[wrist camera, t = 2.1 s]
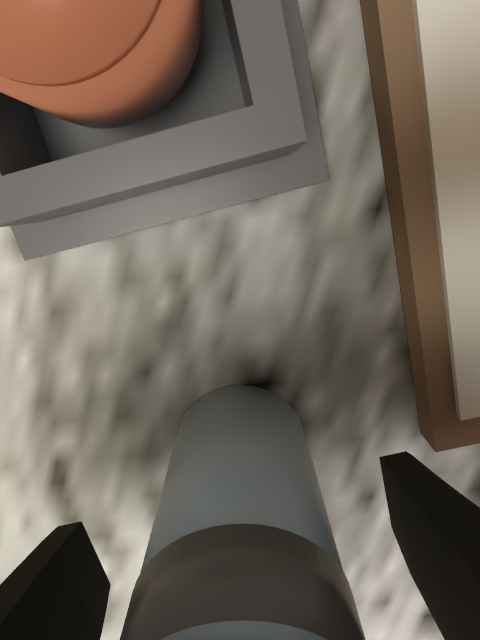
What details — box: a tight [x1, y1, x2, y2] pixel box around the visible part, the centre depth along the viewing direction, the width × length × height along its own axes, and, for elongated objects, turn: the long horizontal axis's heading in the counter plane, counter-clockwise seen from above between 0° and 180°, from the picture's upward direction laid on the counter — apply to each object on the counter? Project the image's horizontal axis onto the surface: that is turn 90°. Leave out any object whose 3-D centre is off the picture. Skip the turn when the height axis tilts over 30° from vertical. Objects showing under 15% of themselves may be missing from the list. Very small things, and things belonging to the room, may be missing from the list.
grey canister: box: [120, 385, 365, 640], centre depth 9 cm, size 4×4×7 cm
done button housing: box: [0, 0, 329, 260], centre depth 8 cm, size 8×8×3 cm
